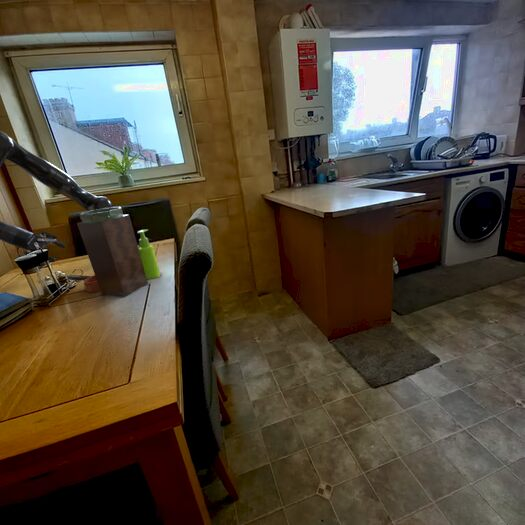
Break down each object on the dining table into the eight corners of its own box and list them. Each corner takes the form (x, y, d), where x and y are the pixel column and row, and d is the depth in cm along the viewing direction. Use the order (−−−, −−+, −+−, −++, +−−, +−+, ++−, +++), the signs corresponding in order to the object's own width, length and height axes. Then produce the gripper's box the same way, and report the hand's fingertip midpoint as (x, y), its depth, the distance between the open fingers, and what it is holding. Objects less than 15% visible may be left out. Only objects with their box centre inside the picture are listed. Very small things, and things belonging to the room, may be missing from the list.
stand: (125, 280, 118) (103, 207, 107) (149, 282, 113) (128, 206, 102) (99, 295, 106) (71, 215, 95) (125, 297, 102) (98, 213, 91)
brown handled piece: (81, 279, 125) (78, 271, 123) (116, 282, 117) (113, 273, 115) (61, 288, 117) (58, 279, 115) (97, 292, 109) (94, 282, 107)
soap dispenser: (163, 271, 123) (152, 227, 116) (156, 278, 116) (144, 232, 109) (151, 272, 124) (139, 229, 116) (143, 279, 117) (130, 233, 110)
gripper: (6, 243, 109) (52, 260, 116) (27, 220, 118) (69, 237, 125) (5, 253, 113) (50, 270, 120) (26, 230, 123) (66, 246, 130)
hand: (60, 253), depth 123 cm, fingers open, 8 cm apart
